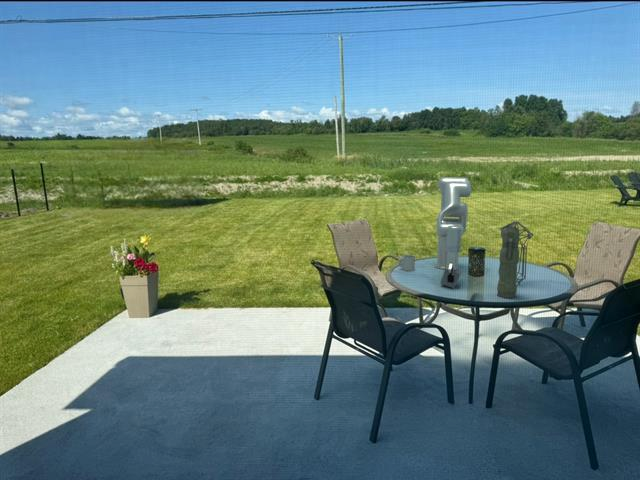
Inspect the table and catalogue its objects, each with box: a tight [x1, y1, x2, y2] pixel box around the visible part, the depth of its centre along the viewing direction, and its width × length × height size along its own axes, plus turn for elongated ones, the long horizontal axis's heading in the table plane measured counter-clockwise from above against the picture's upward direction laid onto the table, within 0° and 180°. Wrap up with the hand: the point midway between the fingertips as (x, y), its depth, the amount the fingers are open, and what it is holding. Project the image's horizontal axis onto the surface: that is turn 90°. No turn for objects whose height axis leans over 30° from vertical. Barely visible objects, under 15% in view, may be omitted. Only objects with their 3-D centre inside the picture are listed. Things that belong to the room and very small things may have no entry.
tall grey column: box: [496, 226, 521, 299], centre depth 224 cm, size 9×12×35 cm
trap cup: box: [439, 268, 463, 289], centre depth 244 cm, size 8×8×9 cm
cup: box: [398, 254, 416, 272], centre depth 281 cm, size 7×10×9 cm
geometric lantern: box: [498, 221, 534, 286], centre depth 247 cm, size 16×16×35 cm
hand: (451, 280), depth 244 cm, fingers open, 8 cm apart
